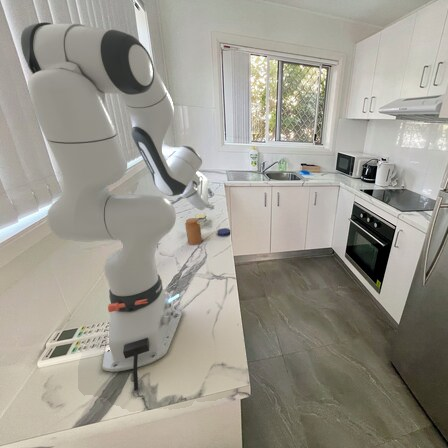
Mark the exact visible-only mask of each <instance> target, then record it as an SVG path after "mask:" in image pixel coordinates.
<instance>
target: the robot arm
mask: <svg viewBox="0 0 448 448" xmlns="http://www.w3.org/2000/svg"><path fill="white" fill-rule="evenodd" d="M20 46H21V51H22V55H23V57H24V60H25V62H26V64H27V67H28V69H29V70H30V72H31V73H32V74H31V76H30V77H29V78H28V81H27V87H28V88H27V89H28V92H29V96H30V101H31V103H32V107H33V111H34V113H35V116H36V119H37V122H38V124H39V126H40V129H41V131H42V133H43V135H44V139H46V141H47V144H48V146H49V148H50V150H51V152H52V154H53V157H54V158H55V161H56V163H57V165H58V168H59V170H60V173H61V176H62V182H63V188H62V192H61V194H60V196H59V198H58V199H57V200H55V201H54V202H53V203H52V204H51V205H50V207H49V209H48V211H47V215H46V223H47V227H48V228H49V230H50V231H51V233H52V234H53V235H54V236H55V237H57V238H59V239H60V240H65V241H73V242H82V243H93V242H106V241H107V242H108V241H109V242H110V241H120V242H121V244H122V247H121V248H119V249H117V250H115V251H114V252H112V253H111V254H110V255H108V257H107V258H106V259H105V261H104V264H103V273H104V275H105V279H106V282H107V283H108V287H109V291H108V293H109V295H108V296H109V301H110V303H109V304H108V306H107V311H108V313H109V324H108V327H109V347H110V350H111V351H110V350H108V351H107V352H105V353H104V352H103V359H102V364H101V365H102V370H103V371H105V372H111V373H114V372H123V371H129V370H132V376H133V391H138V390H139V378H138V368H141V367H143V366H146V365H149V364H151V363H154V362H156V361H157V360H160V359H161V358H162V357H164V356H165V355H167V353H168V351H169V349H170V345H171V343H172V342H173V339H174V335H175V333H176V332H177V331H176V330H177V328H178V325H179V323H180V321H181V318H182V315H183V314H182V311H180V310H179V309H175V306H174V302H173V301H174V300H175V299H177V298H179V297H180V294H179V293H178V294H176V295H174V296H173V297H172V296H171V293H170V292H169V291H167V290H165V289H164V288H163V287H164V286H163V281H162V278H161V276H160V274H159V273H158V269H157V264H156V262H157V261H156V250H157V246H159V243H160V242H161V240H162V239H163V238H164V237H165V236H167V235H168V234H169V233H170V232H171V231H172V230H173V228H174V226H175V224H176V221H177V212H176V209H175V207H174V205H173V204H172V202H171V201H170V200H169V199H168V198H167V197H166V196H169V197H177V196H180V197H181V198H182V199H186V200H187V202H188V203H189V204H190V205H191V206H193V207H194V208H196V210H198V211H203V210H205V209H209V210H210V211H213V210H215V205H214V204H213V203H210V202H209V197H210V198H212V197H214V196H215V192H214V191H212V189H211V187H210V186H209V180H208V178H207V177H206V176H205V175H204V174H203V173H201V172H200V171H199V169H200V168H201V166H202V164H203V159H202V157H201V156H200V153H198V151H197V150H195V148H193V147H192V146H188V145H181V146H177V147H176V146H170V145H168V144H167V143H165V142H164V140H165V138H166V135H167V133H168V131H169V129H170V127H171V125H172V123H173V121H174V117H175V107H174V103H173V99H172V97H171V95H170V93H169V91H168V89H167V87H166V85H165V83H164V81H163V79H162V77H161V76H160V74H159V73H158V70H157V69H156V67H155V66H154V63H153V60H152V57H151V55H150V53H149V51H148V50H147V49H146V47H145V46H144V45H143V44H142V43H141V42H140V40H139V39H138V38H136V37H135V36H133V35H131V34H129V33H126V32H123V31H120V30H117V29H109V30H108V29H104V28H99V27H94V26H88V25H84V24H82V23H81V24H80V23H51V22H38V23H33V24H30V25H28V26H26V27H25V28H24V29H23V30H22V32H21V35H20ZM106 94H113V95H115V94H117V95H118V96H119V98H120V99H121V101H122V102H123V104H124V105H125V107H126V110H127V112H128V114H129V118H130V122H131V123H130V124H131V136H132V140H133V142H134V144H135V146H136V148H137V150H138V152H139V153H140V155H141V157H142V160H143V161H144V162H145V165H146V166H147V169H148V171H149V173H150V174H151V179H152V181H153V184H154V186H155V187H156V188H157V190H159V191H160V192H161V193H163V194H164V195H166V196H160V195H156V194H155V195H154V194H147V193H130V194H114V193H111V190H110V189H109V186H111V185H113V184H115V183H117V182H118V181H120V180H121V179H123V177H124V176H125V175H126V173H127V171H128V163H127V159H126V156H125V152H124V150H123V146H122V144H121V140H120V138H119V135H118V132H117V129H116V127H115V124H114V120H113V118H112V117H111V114H110V112H109V110H108V108H107V105H106V102H105V99H106Z"/></svg>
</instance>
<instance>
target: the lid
mask: <svg viewBox="0 0 448 448" xmlns="http://www.w3.org/2000/svg"><path fill="white" fill-rule="evenodd" d="M230 235H231V229H230V228H225V227H224V228H223V227H222V228H220V229H218V230H217V236H219V237H222V238H223V237H229V236H230Z"/></svg>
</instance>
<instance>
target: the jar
mask: <svg viewBox="0 0 448 448" xmlns="http://www.w3.org/2000/svg"><path fill="white" fill-rule="evenodd" d="M184 226H185V232H186V239H187V243H188V244H189V245H199V244H201V243H202V242H203V237H202V230H201V229H202V228H200V222H199V221H198V219H197V218H195V217H190V218H187V219H186V220H185V223H184Z"/></svg>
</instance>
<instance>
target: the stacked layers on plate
mask: <svg viewBox="0 0 448 448" xmlns="http://www.w3.org/2000/svg"><path fill="white" fill-rule="evenodd" d="M194 218H197V219H198V221H199V222H200V229H206V228H211V220H208V219H207V213H204V212H203V213H199V214H198V213H197V214H195V217H194Z"/></svg>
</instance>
